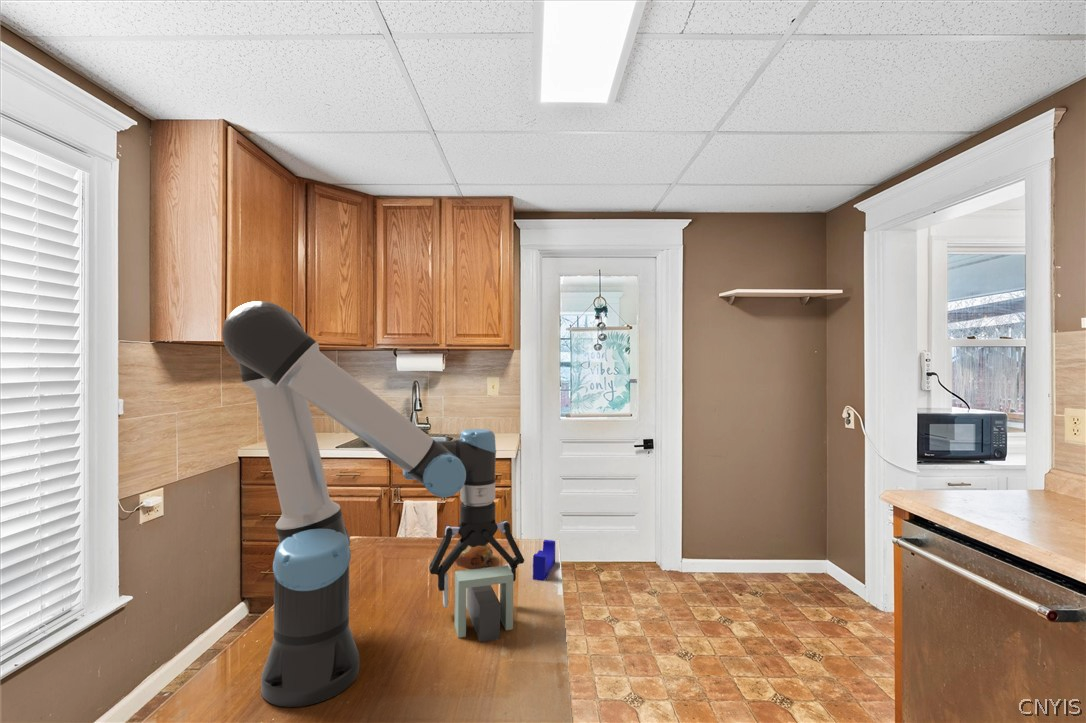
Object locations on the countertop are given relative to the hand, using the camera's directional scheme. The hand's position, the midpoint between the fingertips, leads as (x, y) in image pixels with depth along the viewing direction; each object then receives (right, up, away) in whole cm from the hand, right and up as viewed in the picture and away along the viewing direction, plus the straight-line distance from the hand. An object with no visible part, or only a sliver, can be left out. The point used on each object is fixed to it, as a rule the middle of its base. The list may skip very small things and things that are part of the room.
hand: (477, 600), depth 111 cm
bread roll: (-4, -3, +27) cm, 28 cm away
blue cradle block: (+14, -3, +22) cm, 26 cm away
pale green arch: (+2, -2, -7) cm, 7 cm away
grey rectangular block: (+1, -2, -4) cm, 5 cm away
